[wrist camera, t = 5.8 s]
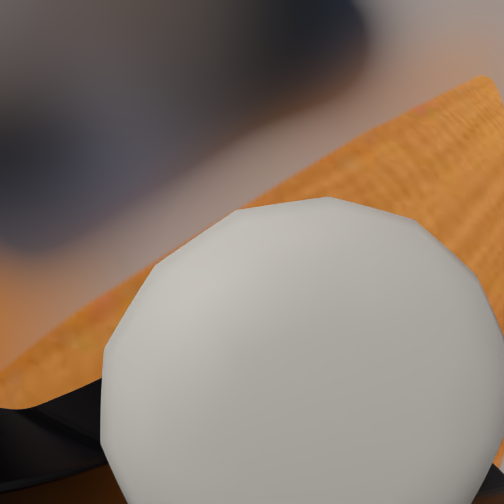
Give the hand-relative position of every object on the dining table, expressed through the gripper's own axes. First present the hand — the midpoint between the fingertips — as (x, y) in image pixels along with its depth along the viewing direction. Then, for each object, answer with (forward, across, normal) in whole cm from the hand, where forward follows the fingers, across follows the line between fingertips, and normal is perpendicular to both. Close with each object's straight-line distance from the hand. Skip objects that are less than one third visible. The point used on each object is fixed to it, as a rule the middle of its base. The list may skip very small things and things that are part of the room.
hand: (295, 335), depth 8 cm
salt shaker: (+4, 0, +6) cm, 7 cm away
